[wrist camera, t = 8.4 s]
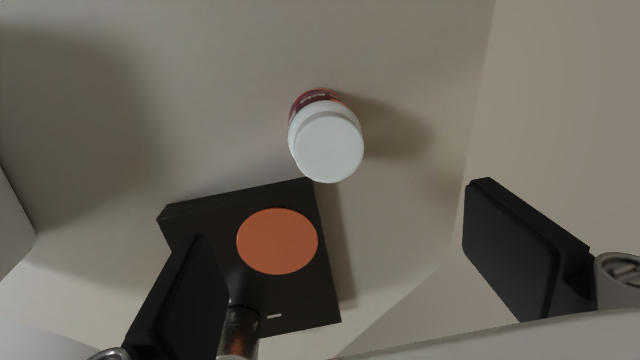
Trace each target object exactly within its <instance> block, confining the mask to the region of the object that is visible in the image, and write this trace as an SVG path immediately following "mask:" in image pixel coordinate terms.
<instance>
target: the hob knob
mask: <svg viewBox="0 0 640 360" xmlns="http://www.w3.org/2000/svg"><path fill="white" fill-rule="evenodd" d="M260 329H261V319H260V317H259V315H258V314H257V313H256V312H255V311H253V310H251V309H249V308H246V307H231V308H228V309H227V313H226V318H225V322H224V326H223V330H222V335H221V339H220V343H219V348H218V352H217V356H216V360H257V358H258V348H259V339H260Z"/></svg>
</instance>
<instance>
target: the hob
mask: <svg viewBox="0 0 640 360" xmlns="http://www.w3.org/2000/svg"><path fill="white" fill-rule="evenodd" d="M275 207H280V208H288V209H292V210H295V211H297V212H299V213H301V214H302V215H304V216H305V217H306V218H308V219H309V220H310V221H311V223H312V224H313V226H314V227H315V229H316V232H317V237H318V246H317V250H316V253H315V254H314V256H313V258H312V259H311V260H310V261H309V262H308V263H307V264H306V265H305V266H304V267H302V268H301V269H299V270H297V271H294V272H291V273H287V274H279V275H275V274H267V273H263V272H260V271H257V270H255V269H253V268H252V267H250V266H249V265H248V264H247V263H245V261H244V260H243V259H242V258H241V256H240V254H239V252H238V249H237V244H236V240H237V234H238V231H239V228H240V227H241V225H242V224H243V222H244V221H245V220H246V219H247V218H248V217H249V216H251V215H252V214H254V213H256V212H258V211H260V210H263V209H267V208H275ZM156 221H157V223H158V225H159V227H160V229H161V231H162V233H163V235H164V237H165V239H166V241H167V243H168V245H169V247H170V249H171V251H173V249H174V247H175V245H176V244H177V242H178V240H179V238H180V237H181V235H184V234H189V233H194V232H200V233H201V234H202V235H206V236H207V237H208V240H209V242H210V245H211V247H212V249H213V252H214V254H215V257H216V259H217V262H218V264H219V267H220V269H221V272H222V274H223V277H224V279H225V281H226V284H227V286H228V289H229V293H230V300H229V305H228V308H231V307H246V308H249V309H251V310H253V311H255V312H256V313H257V314H258V315H259V317H260V319H261V329H260V339H261V338H266V337H271V336H276V335H281V334H286V333H291V332H296V331H301V330H306V329H311V328H316V327H321V326H326V325H331V324H336V323H341V322H342V321H341V315H340V310H339V304H338V299H337V294H336V290H335V285H334V280H333V276H332V271H331V266H330V261H329V257H328V252H327V247H326V243H325V238H324V233H323V228H322V224H321V219H320V214H319V209H318V205H317V200H316V195H315V191H314V186H313V181H312V179H310V178H309V177H302V178H297V179H292V180H287V181H282V182H277V183H272V184H267V185H262V186H257V187H252V188H247V189H242V190H237V191H232V192H227V193H222V194H217V195H212V196H207V197H202V198H197V199H192V200H187V201H182V202H177V203H172V204H167V205H166V207H165V208H164V209H163V211H162V212H161V213H160V215H159V216H158V217H157V219H156Z"/></svg>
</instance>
